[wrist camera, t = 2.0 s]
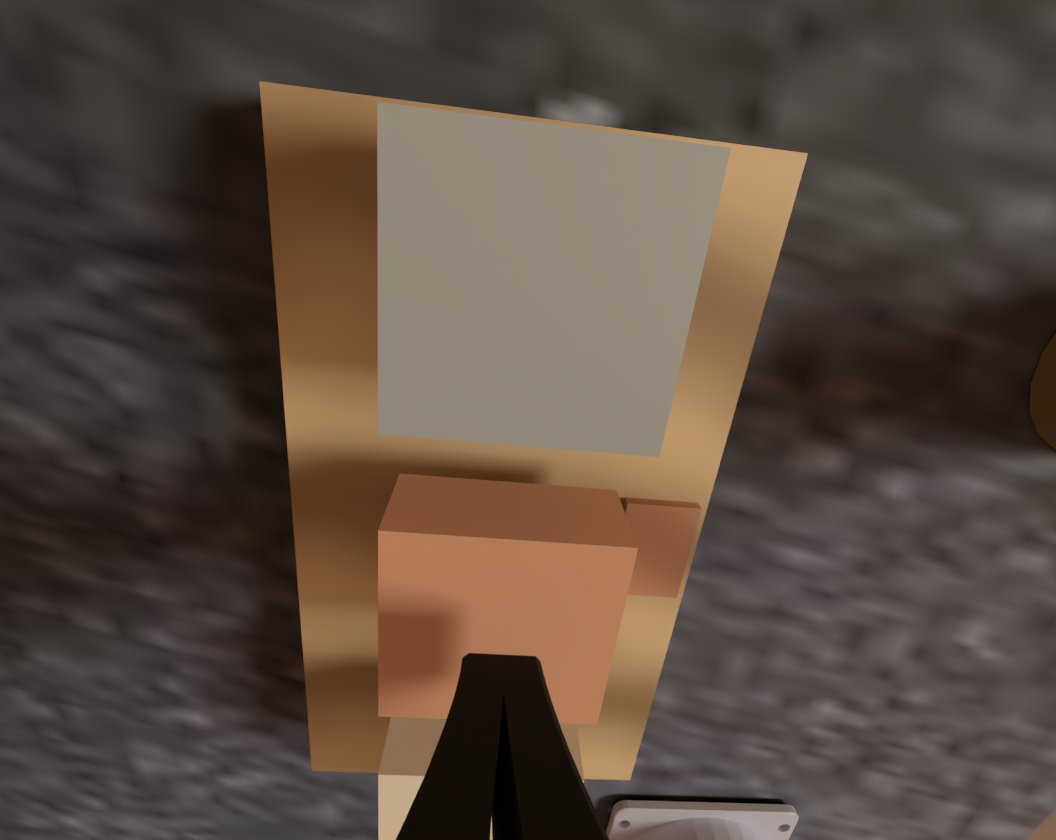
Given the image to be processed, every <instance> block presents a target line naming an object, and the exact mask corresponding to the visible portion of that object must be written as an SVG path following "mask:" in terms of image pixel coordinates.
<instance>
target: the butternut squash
mask: <svg viewBox="0 0 1056 840" xmlns="http://www.w3.org/2000/svg"><path fill="white" fill-rule="evenodd" d="M1029 412H1030V415H1031V418H1032V420H1033V423H1034V425H1035V428H1036V431H1037V433H1038V435H1040V436H1041V437H1042V438H1043V439H1044V440H1045V441H1046V442H1047V443H1048V444H1050V445H1051V446H1052V447H1053V448H1054V449H1055V450H1056V333H1055V335H1054V336H1053V338H1052V339H1051V341H1050V342H1049V343H1048V345H1047V346H1046V348H1045V349H1044V351H1043V352H1042V355H1041V357H1040V360H1039V362H1038V365H1037V368H1036V370H1035V373H1034V376H1033V378H1032V381H1031V384H1030V405H1029Z"/></svg>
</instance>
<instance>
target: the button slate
mask: <svg viewBox="0 0 1056 840" xmlns="http://www.w3.org/2000/svg"><path fill="white" fill-rule="evenodd" d="M730 150H731V148H727V147H720V146H712V145H704V144H697V143H689V142H681V141H674V140H666V139H659V138H651V137H643V136H636V135H628V134H620V133H613V132H605V131H598V130H590V129H582V128H575V127H567V126H559V125H552V124H544V123H536V122H529V121H521V120H514V119H506V118H498V117H491V116H483V115H475V114H468V113H460V112H452V111H445V110H437V109H430V108H422V107H414V106H407V105H399V104H391V103H384V102H377V195H378V434H381V435H393V436H405V437H418V438H430V439H442V440H455V441H467V442H479V443H492V444H504V445H516V446H529V447H541V448H553V449H566V450H578V451H590V452H603V453H615V454H627V455H640V456H652V457H659V456H660V452H661V448H662V443H663V439H664V435H665V430H666V426H667V422H668V418H669V413H670V409H671V405H672V400H673V396H674V392H675V387H676V383H677V379H678V374H679V370H680V366H681V362H682V357H683V353H684V349H685V344H686V340H687V336H688V331H689V327H690V323H691V318H692V314H693V310H694V305H695V301H696V297H697V293H698V288H699V284H700V280H701V275H702V271H703V267H704V262H705V258H706V254H707V249H708V245H709V241H710V237H711V232H712V228H713V224H714V219H715V215H716V211H717V206H718V202H719V198H720V193H721V189H722V185H723V180H724V176H725V172H726V168H727V163H728V159H729V155H730Z"/></svg>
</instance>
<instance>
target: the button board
mask: <svg viewBox="0 0 1056 840" xmlns="http://www.w3.org/2000/svg"><path fill="white" fill-rule="evenodd" d="M259 82H260V95H261V108H262V121H263V134H264V147H265V161H266V174H267V187H268V200H269V213H270V226H271V239H272V253H273V266H274V279H275V292H276V305H277V318H278V331H279V345H280V358H281V371H282V384H283V397H284V410H285V423H286V437H287V450H288V463H289V476H290V489H291V502H292V515H293V529H294V542H295V555H296V568H297V581H298V594H299V607H300V620H301V634H302V647H303V660H304V673H305V686H306V699H307V712H308V726H309V739H310V752H311V765H312V771H344V772H377V773H379V770H380V765H381V761H382V756H383V751H384V747H385V742H386V738H387V733H388V728H389V724H390V719H391V717H379V716H378V529H379V527H380V524H381V522H382V519H383V516H384V514H385V511H386V508H387V506H388V503H389V500H390V498H391V495H392V492H393V490H394V487H395V484H396V482H397V479H398V476H399V474H411V475H425V476H438V477H451V478H464V479H478V480H491V481H504V482H517V483H531V484H544V485H557V486H570V487H584V488H597V489H610V490H616V491H617V493H618V496H619V498H620V501H621V504H622V506H623V509H624V512H625V514H626V517H627V520H628V522H629V525H630V528H631V530H632V533H633V536H634V538H635V541H636V543H637V546H638V551H637V556H636V560H635V564H634V568H633V573H632V577H631V581H630V586H629V590H628V594H627V599H626V603H625V607H624V612H623V616H622V620H621V624H620V629H619V633H618V637H617V642H616V646H615V650H614V655H613V659H612V663H611V668H610V672H609V676H608V681H607V685H606V689H605V693H604V698H603V702H602V706H601V711H600V715H599V719H598V724H597V725H586V724H577V731H578V739H579V746H580V754H581V761H582V768H583V776H584V779H607V780H630V779H631V775H632V771H633V768H634V764H635V761H636V757H637V754H638V750H639V747H640V743H641V740H642V736H643V733H644V729H645V726H646V722H647V719H648V715H649V712H650V708H651V705H652V701H653V697H654V694H655V690H656V687H657V683H658V680H659V676H660V673H661V669H662V666H663V662H664V659H665V655H666V652H667V648H668V645H669V641H670V638H671V634H672V631H673V627H674V623H675V620H676V616H677V613H678V609H679V606H680V602H681V599H682V595H683V592H684V588H685V585H686V581H687V578H688V574H689V571H690V567H691V564H692V560H693V556H694V553H695V549H696V546H697V542H698V539H699V535H700V532H701V528H702V525H703V521H704V518H705V514H706V511H707V507H708V504H709V500H710V497H711V493H712V490H713V486H714V482H715V479H716V475H717V472H718V468H719V465H720V461H721V458H722V454H723V451H724V447H725V444H726V440H727V437H728V433H729V430H730V426H731V423H732V419H733V416H734V412H735V408H736V405H737V401H738V398H739V394H740V391H741V387H742V384H743V380H744V377H745V373H746V370H747V366H748V363H749V359H750V356H751V352H752V349H753V345H754V341H755V338H756V334H757V331H758V327H759V324H760V320H761V317H762V313H763V310H764V306H765V303H766V299H767V296H768V292H769V289H770V285H771V282H772V278H773V275H774V271H775V267H776V264H777V260H778V257H779V253H780V250H781V246H782V243H783V239H784V236H785V232H786V229H787V225H788V222H789V218H790V215H791V211H792V208H793V204H794V201H795V197H796V193H797V190H798V186H799V183H800V179H801V176H802V172H803V169H804V165H805V162H806V158H807V155H808V153H800V152H793V151H785V150H777V149H770V148H762V147H755V146H747V145H739V144H732V143H724V142H717V141H709V140H702V139H694V138H686V137H679V136H671V135H664V134H656V133H648V132H641V131H633V130H626V129H618V128H610V127H603V126H595V125H588V124H580V123H572V122H565V121H557V120H550V119H542V118H535V117H527V116H519V115H512V114H504V113H497V112H489V111H481V110H474V109H466V108H459V107H451V106H443V105H436V104H428V103H421V102H413V101H405V100H398V99H390V98H383V97H375V96H368V95H360V94H352V93H345V92H337V91H330V90H322V89H314V88H307V87H299V86H292V85H284V84H276V83H269V82H261V81H259ZM377 102H384V103H391V104H399V105H407V106H414V107H422V108H430V109H437V110H445V111H452V112H460V113H468V114H475V115H483V116H491V117H498V118H506V119H514V120H521V121H529V122H536V123H544V124H552V125H559V126H567V127H575V128H582V129H590V130H598V131H605V132H613V133H620V134H628V135H636V136H643V137H651V138H659V139H666V140H674V141H681V142H689V143H697V144H704V145H712V146H720V147H727V148H731V150H730V155H729V159H728V163H727V168H726V172H725V176H724V180H723V185H722V189H721V193H720V198H719V202H718V206H717V211H716V215H715V219H714V224H713V228H712V232H711V237H710V241H709V245H708V249H707V254H706V258H705V262H704V267H703V271H702V275H701V280H700V284H699V288H698V293H697V297H696V301H695V305H694V310H693V314H692V318H691V323H690V327H689V331H688V336H687V340H686V344H685V349H684V353H683V357H682V362H681V366H680V370H679V374H678V379H677V383H676V387H675V392H674V396H673V400H672V405H671V409H670V413H669V418H668V422H667V426H666V430H665V435H664V439H663V443H662V448H661V452H660V456H659V457H652V456H640V455H627V454H615V453H603V452H590V451H578V450H566V449H553V448H541V447H529V446H516V445H504V444H492V443H479V442H467V441H455V440H442V439H430V438H418V437H405V436H393V435H381V434H378V195H377Z"/></svg>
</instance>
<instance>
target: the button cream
mask: <svg viewBox="0 0 1056 840" xmlns="http://www.w3.org/2000/svg"><path fill="white" fill-rule="evenodd" d="M445 722H446V719H431V718H405V717H391V719H390V724H389V728H388V733H387V738H386V742H385V747H384V751H383V756H382V761H381V765H380V770H379V774H378V838H379V840H396V838H397V836H398V834H399V832H400V830H401V827H402V825H403V823H404V821H405V819H406V816H407V814H408V812H409V810H410V808H411V805H412V803H413V801H414V799H415V797H416V794H417V792H418V790H419V788H420V786H421V783H422V781H423V779H424V776H425V774H426V772H427V769H428V767H429V764H430V762H431V759H432V756H433V754H434V751H435V749H436V746H437V744H438V741H439V738H440V736H441V733H442V731H443V728H444V725H445ZM559 724H560V723H559ZM560 726H561V729H562V732H563V735H564V737H565V740H566V742H567V745H568V748H569V750H570V752H571V755H572V757H573V760H574V762H575V764H576V767H577V769H578V772H579V774H580V776H581V779H582V781H583V783H584V776H583V768H582V761H581V754H580V746H579V739H578V731H577V724H560ZM490 840H493V838H492V816H491V830H490Z"/></svg>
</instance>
